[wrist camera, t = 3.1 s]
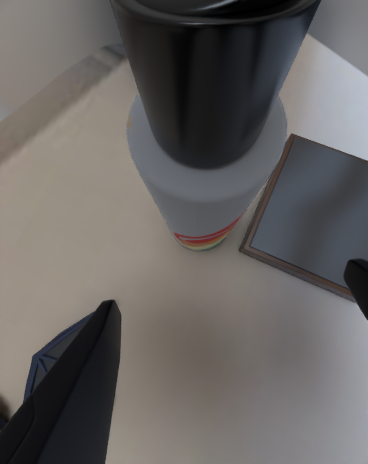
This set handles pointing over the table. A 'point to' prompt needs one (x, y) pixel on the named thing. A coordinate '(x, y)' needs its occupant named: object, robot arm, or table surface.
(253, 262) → the table surface
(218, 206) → the lotion bottle
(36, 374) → the decorative bat
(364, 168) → the plate
